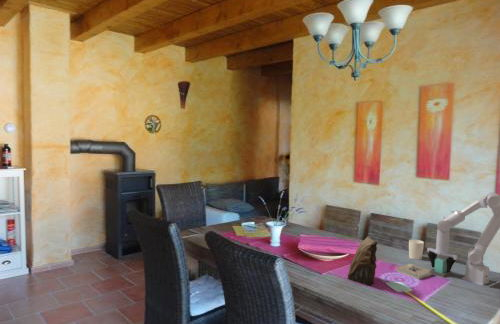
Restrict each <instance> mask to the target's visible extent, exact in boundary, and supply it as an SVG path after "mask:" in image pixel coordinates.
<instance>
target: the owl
mask: <svg viewBox="0 0 500 324" xmlns="http://www.w3.org/2000/svg"><path fill="white" fill-rule="evenodd" d="M377 245H378V242H377V241H376V240H375V239H374V240H373V239H371V237H370V236H368V235H367V236H366V238H365V239H364V240H363V241H361V243H360V244H359V245H358V247H357V249H356V250H355V251H356V252H355V254H354V256H353V259H352V261H351V262H350V265H349V269H348V271H347V272H348V273H347V277H346V278H347V280H349V281H352V282H355V283H359V284H362V285H364V286H369V287H370V286H373V285H374V284H375V282H374V279H375V276H376V268H377V264H376V262H377V256H376V254H377V251H378V248H377Z"/></svg>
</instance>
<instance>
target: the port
mask: <svg viewBox="0 0 500 324" xmlns="http://www.w3.org/2000/svg"><path fill="white" fill-rule="evenodd" d="M396 272H398V273H400V274H403V275H405V276H409V277H411V278H413V279H416V280H422V279H424V278H427V277H430V276H432V275H433V274H432V270H431V269H429V268H425V267H422V266H419V265H417V264H416V265H415V264H413V263H407V264H404V265H401V266H398V267H397V266H396Z"/></svg>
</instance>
